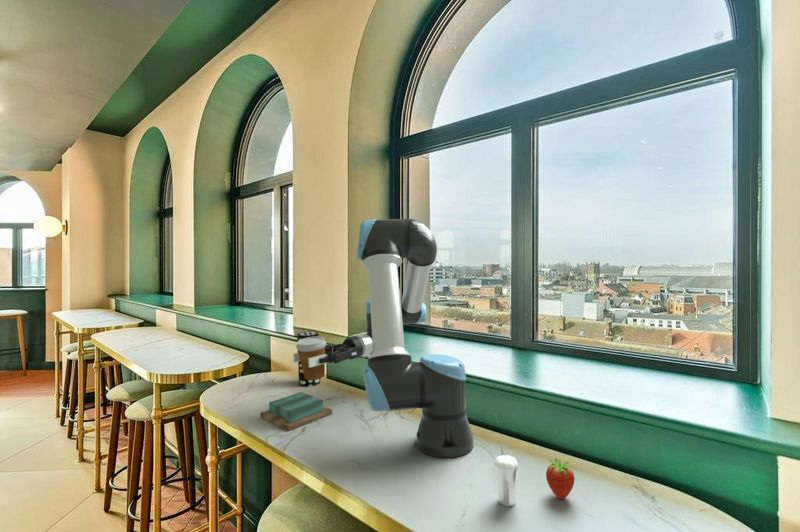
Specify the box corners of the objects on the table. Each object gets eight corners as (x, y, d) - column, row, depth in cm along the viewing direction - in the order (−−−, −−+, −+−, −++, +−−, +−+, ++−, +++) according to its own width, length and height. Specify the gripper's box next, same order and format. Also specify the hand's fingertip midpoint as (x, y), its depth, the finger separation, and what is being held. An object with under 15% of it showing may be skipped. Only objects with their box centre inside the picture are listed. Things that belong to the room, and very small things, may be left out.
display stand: (332, 414, 130) (331, 399, 130) (288, 431, 118) (288, 415, 118) (303, 402, 141) (302, 389, 141) (260, 417, 129) (260, 402, 129)
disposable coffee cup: (335, 374, 131) (332, 338, 130) (311, 385, 124) (307, 347, 122) (317, 368, 137) (314, 334, 136) (293, 378, 130) (289, 342, 129)
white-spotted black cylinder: (298, 381, 165) (296, 332, 164) (319, 379, 167) (317, 330, 167) (299, 387, 157) (297, 336, 156) (321, 385, 159) (319, 334, 159)
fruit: (548, 503, 81) (548, 464, 81) (544, 489, 86) (543, 452, 86) (577, 506, 80) (576, 466, 80) (571, 491, 85) (570, 453, 85)
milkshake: (513, 492, 86) (512, 445, 85) (521, 508, 80) (520, 458, 80) (491, 493, 85) (490, 446, 85) (498, 509, 80) (497, 459, 80)
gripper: (377, 362, 136) (321, 379, 120) (339, 352, 151) (284, 366, 134) (376, 340, 136) (320, 353, 119) (338, 332, 150) (283, 343, 134)
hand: (301, 360), depth 127 cm, fingers closed on disposable coffee cup, 8 cm apart
